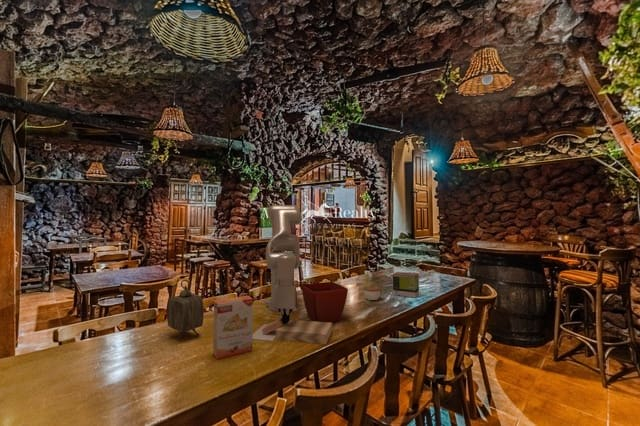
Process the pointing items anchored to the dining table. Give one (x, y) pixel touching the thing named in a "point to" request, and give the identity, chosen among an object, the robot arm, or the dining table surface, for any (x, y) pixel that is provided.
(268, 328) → the block
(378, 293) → the lidded jar
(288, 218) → the robot arm
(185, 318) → the tabletop clock
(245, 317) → the cracker box
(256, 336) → the mat
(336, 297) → the plant pot
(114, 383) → the dining table surface
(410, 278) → the tea box
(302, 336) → the board
